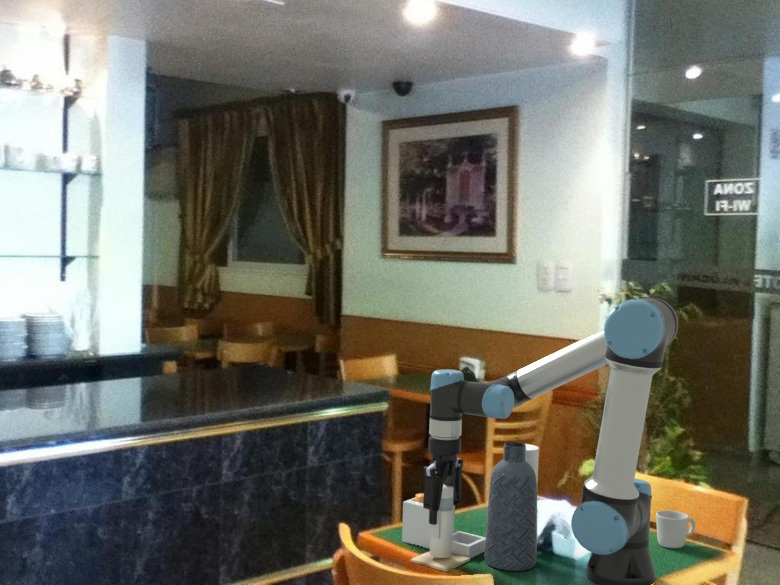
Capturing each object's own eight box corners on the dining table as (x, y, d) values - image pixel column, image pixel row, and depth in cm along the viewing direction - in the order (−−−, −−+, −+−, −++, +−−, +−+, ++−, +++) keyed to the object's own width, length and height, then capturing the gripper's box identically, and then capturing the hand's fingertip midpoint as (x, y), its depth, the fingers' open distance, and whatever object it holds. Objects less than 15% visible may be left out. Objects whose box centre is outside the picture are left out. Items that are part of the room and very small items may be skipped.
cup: (683, 538, 246) (684, 508, 245) (703, 548, 238) (705, 517, 238) (648, 542, 242) (649, 511, 242) (667, 552, 235) (668, 520, 234)
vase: (521, 576, 215) (526, 452, 213) (474, 564, 222) (479, 444, 220) (545, 561, 225) (550, 444, 223) (499, 550, 232) (504, 436, 230)
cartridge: (455, 553, 224) (457, 486, 223) (443, 559, 219) (445, 491, 218) (437, 549, 227) (439, 483, 226) (425, 554, 222) (427, 487, 221)
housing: (488, 549, 232) (489, 509, 232) (468, 559, 225) (469, 517, 224) (422, 532, 244) (423, 494, 243) (401, 541, 237) (403, 501, 236)
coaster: (469, 560, 224) (470, 558, 224) (446, 571, 216) (446, 569, 216) (434, 551, 230) (434, 548, 230) (410, 561, 222) (410, 559, 222)
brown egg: (431, 518, 239) (432, 495, 238) (423, 522, 236) (424, 498, 235) (420, 515, 241) (421, 492, 240) (411, 519, 238) (412, 495, 237)
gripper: (452, 428, 231) (449, 522, 232) (409, 439, 216) (405, 540, 218) (479, 433, 226) (475, 529, 228) (436, 445, 212) (432, 547, 213)
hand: (441, 534), depth 223 cm, fingers closed on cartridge, 5 cm apart
